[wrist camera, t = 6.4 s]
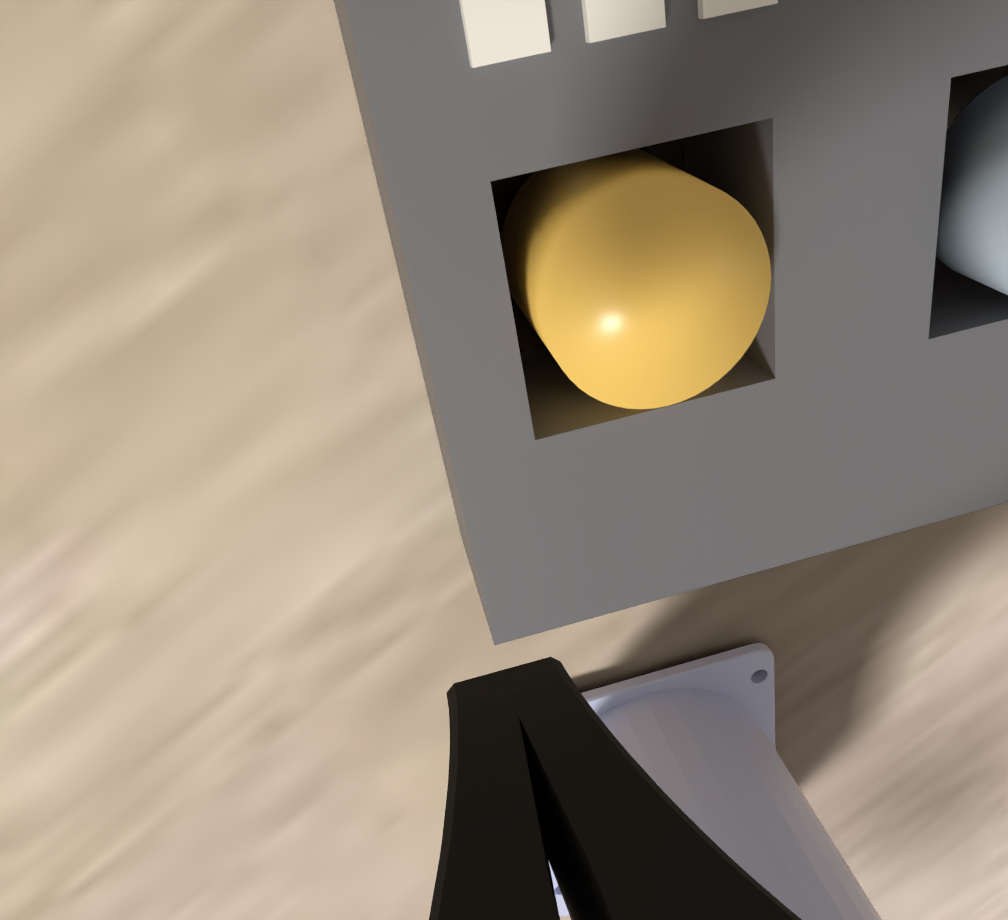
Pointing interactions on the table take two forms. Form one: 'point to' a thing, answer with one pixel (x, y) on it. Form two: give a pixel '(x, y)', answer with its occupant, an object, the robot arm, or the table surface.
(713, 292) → the button three
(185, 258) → the table surface
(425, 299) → the button panel
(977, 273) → the button two
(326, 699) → the table surface
